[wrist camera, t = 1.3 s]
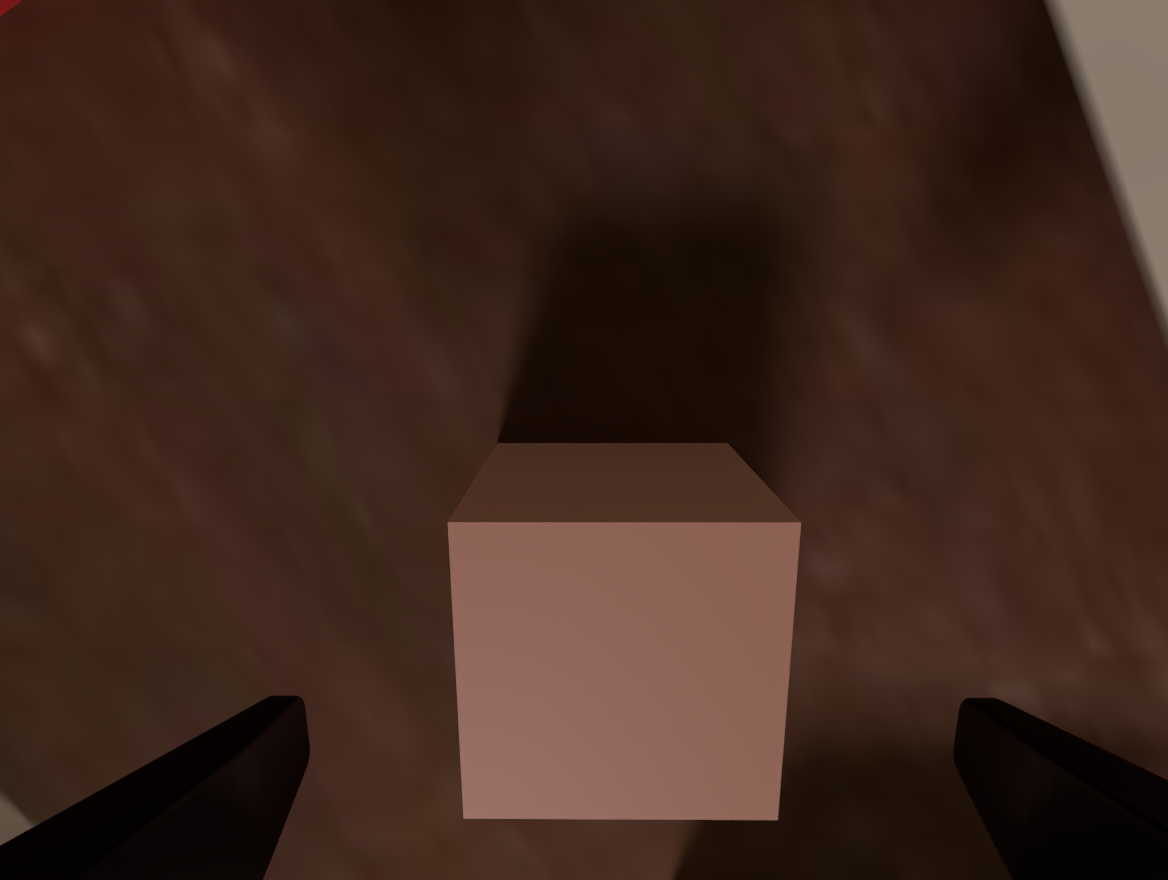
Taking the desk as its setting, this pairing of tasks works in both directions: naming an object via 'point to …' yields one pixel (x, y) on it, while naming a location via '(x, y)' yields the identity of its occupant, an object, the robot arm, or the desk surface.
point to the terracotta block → (622, 633)
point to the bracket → (7, 5)
